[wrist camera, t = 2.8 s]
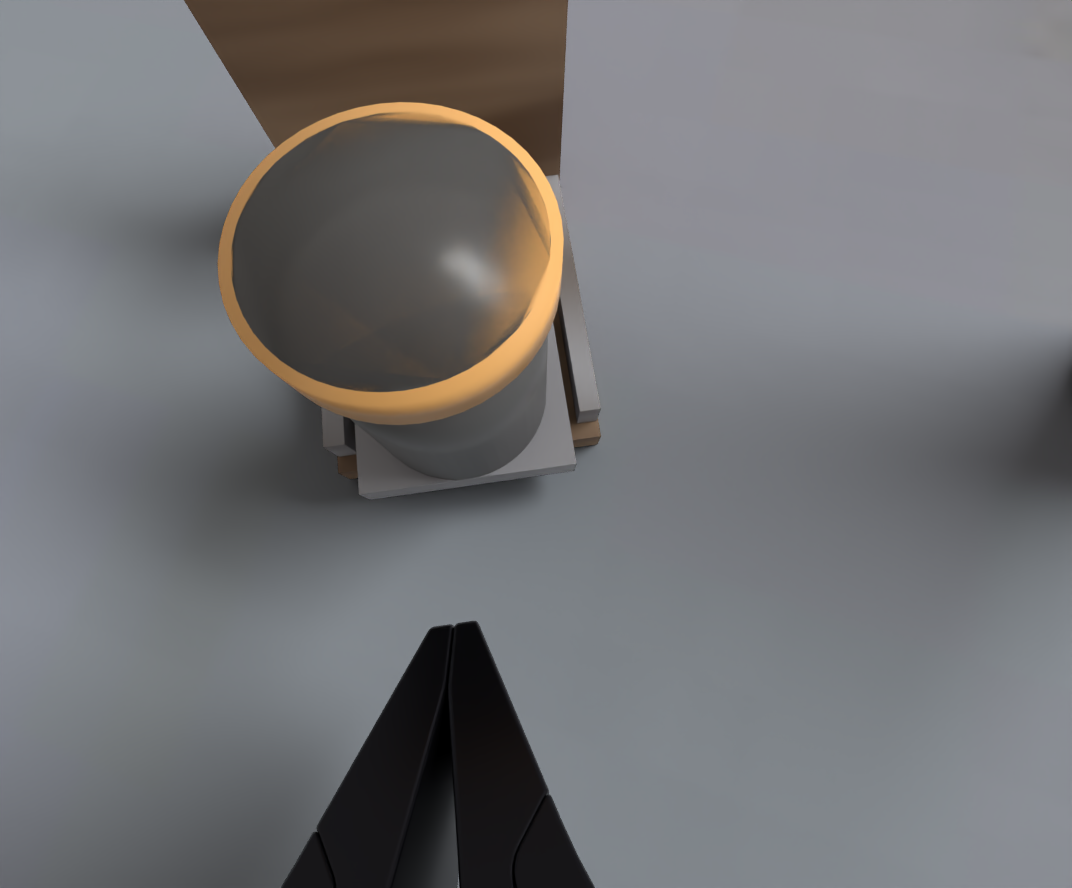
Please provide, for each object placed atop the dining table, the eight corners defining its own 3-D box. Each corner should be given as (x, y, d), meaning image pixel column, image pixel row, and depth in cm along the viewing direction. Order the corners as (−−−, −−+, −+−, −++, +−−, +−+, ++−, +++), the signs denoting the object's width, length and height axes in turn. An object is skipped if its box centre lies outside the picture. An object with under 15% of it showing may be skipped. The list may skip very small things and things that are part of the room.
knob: (575, 477, 15) (610, 375, 8) (370, 506, 15) (195, 432, 7) (548, 311, 17) (554, 81, 9) (359, 337, 17) (200, 125, 9)
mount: (597, 444, 17) (657, 302, 8) (350, 479, 17) (143, 372, 8) (545, 151, 20) (549, -185, 11) (332, 178, 20) (166, -143, 11)
